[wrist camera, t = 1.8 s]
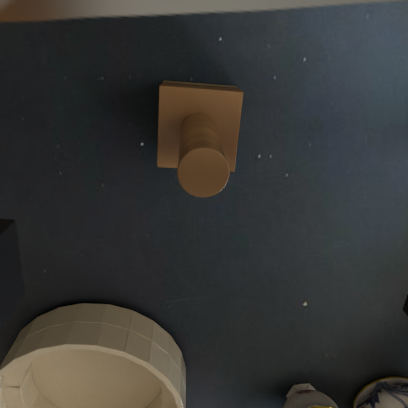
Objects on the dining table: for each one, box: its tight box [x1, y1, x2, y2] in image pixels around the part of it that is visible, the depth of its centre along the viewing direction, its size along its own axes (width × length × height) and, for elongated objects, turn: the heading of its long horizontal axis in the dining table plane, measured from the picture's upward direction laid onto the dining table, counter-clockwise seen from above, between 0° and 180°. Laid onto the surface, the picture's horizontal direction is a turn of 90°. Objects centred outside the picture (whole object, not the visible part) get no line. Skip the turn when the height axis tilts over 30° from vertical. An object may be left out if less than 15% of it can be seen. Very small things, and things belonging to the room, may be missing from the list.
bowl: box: [0, 303, 186, 408], centre depth 39 cm, size 19×19×6 cm
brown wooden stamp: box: [157, 80, 243, 197], centre depth 25 cm, size 6×6×14 cm
